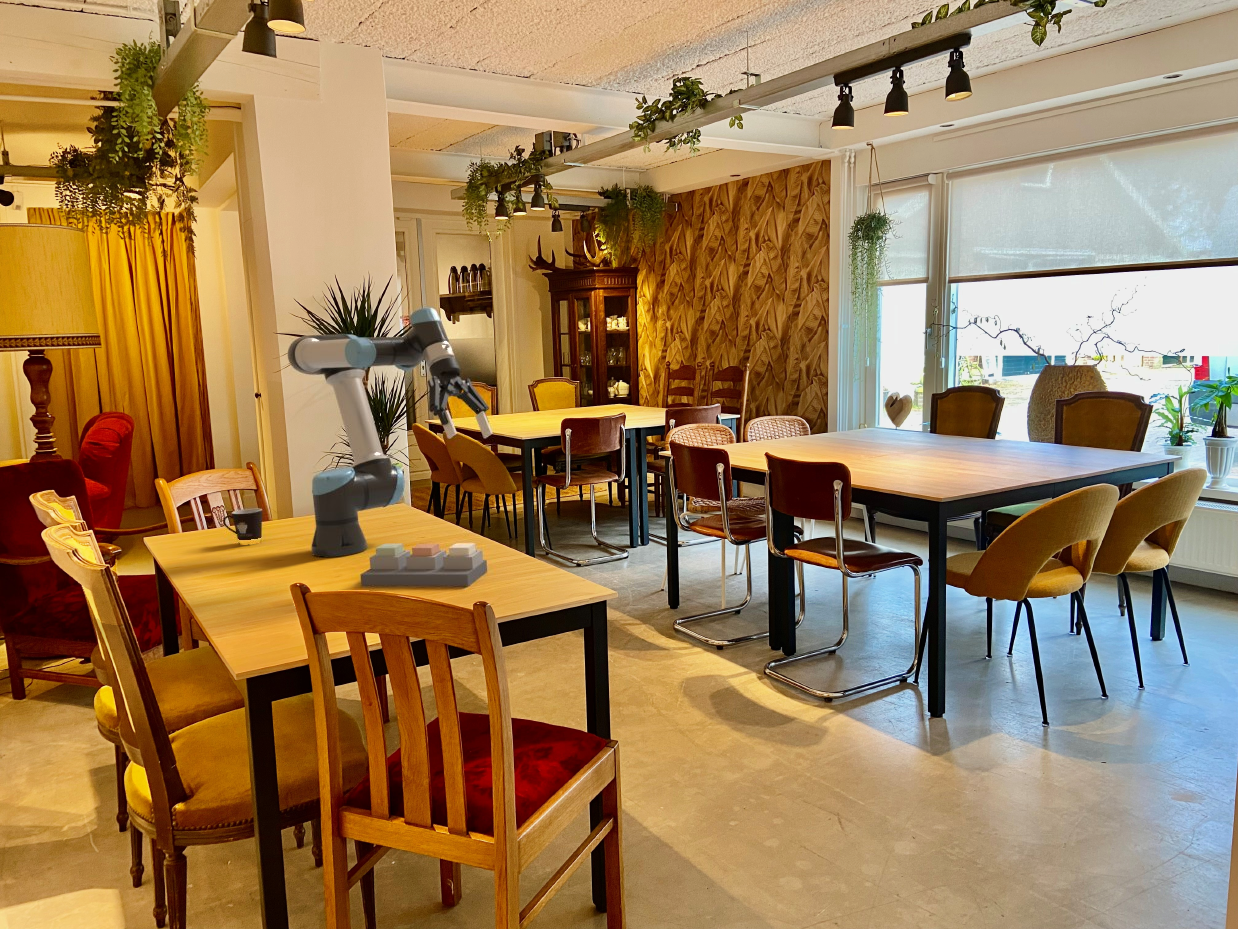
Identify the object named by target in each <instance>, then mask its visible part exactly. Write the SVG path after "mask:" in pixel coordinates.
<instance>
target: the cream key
mask: <svg viewBox="0 0 1238 929" xmlns="http://www.w3.org/2000/svg"><path fill="white" fill-rule="evenodd" d="M476 550H477V548H476V542H456V543H454V544H452V545H451V546H450V547H448V553H449V556H471V555H473V554H474V553H475V552H476Z"/></svg>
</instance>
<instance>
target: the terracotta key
mask: <svg viewBox="0 0 1238 929" xmlns="http://www.w3.org/2000/svg"><path fill="white" fill-rule="evenodd" d="M440 550H441V549H440V543H438V542H435V543H433V542H432V543H431V542H429V543H428V542H427V543H419V544H416V545H415V546H413V547H411V554H412V556H434V555H436V554H437V553H439V552H440Z"/></svg>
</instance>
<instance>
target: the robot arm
mask: <svg viewBox="0 0 1238 929" xmlns="http://www.w3.org/2000/svg"><path fill="white" fill-rule="evenodd" d="M409 322H410V326H411V329H409V332H407V333H406V334H405V335H404V336H385V337H383V336H382V337H381V336H377V337H364V336H362V337H359V336H357V335H354V334H345V333H339V334H309V335H303V336H300V337H298V338H296V339H294V340H293V341H292V342H291V343H290V345H289V347H288V350H287V360H288V362H289V364H290V366H291V367H292V368H293V369H295V370H296V371H297V372H299V373H301V374H304V375H310V376H311V375H312V376H315V375H316V376H317V375H319V376H320V375H323V376H324V378H325V382H326V384H327V385H329V386H331V387H332V388H333V391H334V395H335V398H336V401H337V405H338V409H339V413H340V416H341V420H342V422H343V426H344V429H345V434H346V438H347V440H348V441H347V442H348V444H349V448H350V451H351V454H352V458H353V464H352V465H351V466H350V467H349V466H348V467H347V466H346V467H345V466H344V467H339V468H332V469H331V468H330V469H327V470H324V471H321V472H319V473H317V474H315V475H314V476H313V478H312V480H311V481H312V482H311V494H312V499H313V509H314V519H315V530H314V534H313V538H312V542H311V555H312V554H314V555H316V556H315V557H319V556H324V557H323V558H330V557H331V558H332V557H344V556H349V555H354V554H355V555H356V554H358V553H361V552H364V551H366V550H367V549H368V544H367V539H366V537H365V534H364V532H363V530H362V527H361V525H360V523H359V514H358V513H359V512H362V511H368V510H373V509H379V508H385V507H388V506H391V505H392V506H393V505H396V504H397V503H398V502H400V500H401V499H402V498H403V495H404V492H405V475H404V472H403V470H402V469H401V468H400V467H399V466H398V465H395V464H392V462H391V461H392V460H391V457H389V456H388V455H386V454H384V452H383V449H382V446H381V442H380V439H379V434H378V431H377V427H376V424H375V421H374V417H373V413H372V410H371V406H370V403H369V400H368V397H367V393H366V389H365V386H364V383H363V379H364V377H365V375H366V370H367V368H368V367H369V368H370V367H371V368H372V367H384V366H388V367H389V366H390V367H392V366H395V368H397V369H398V370H402V371H404V372H409V371H412V370H414V369H415V368H416V367H418V366H419V365H420V364H421V363H422V361H423V360H424V361H425V363H426V365H427V367H428V369H429V373H430V375H431V378H430V379H428V380H427V384H428V388H429V389H428V390H429V392H428V393H429V394H428V395H429V397H428V399H429V401H428V410H429V412H430V413H432V414H433V416H434V417H438V419H439V421H440V424H441V425H442V427H443V429H444V432H445V434H446V438H447V439H452V438H453V437H454V436H456V435H457V434H458V432H457V430H456V427H455V425H454V422H453V419H452V417H451V414H450V412H449V409H447V410H446V407H447V405H448V400H449V397H454V398H455V397H456V398H457V399H459V400H462V402H463V403H464V404H465V405H467V407H468V408H470V410H471V411H473V412H474V414H476V415H475V419H476V422H477V424H478V427H479V430H480V432H481V434H482V437H483V439H487V438H488V437H489V436H491V435H493V430H492V428H491V426H490V422H489V418H488V417H487V414H486V412H487V411H489V410H490V406H488V404H487V402H486V401H485V400H484V399H483V397H482V396H481V395H480V393H479V392H478V391H477V389H476V388H475V387H474V386H473V383H472V382H471V380H470V378H466V379H465V380H462V378H461V377H460V376H461V375H460V374H461V368H460V366H459V363H458V360H457V359H456V357H455V356H456V355H455V354H454V351H453V348H452V346H451V344H450V340H449V338H448V336H447V333H446V331H445V327H444V325H443V323H442V322H443V320H442V319H441V317H440V315H439V314H438V312H437V310H436V309H435V308H432V307H430V306H429V307H420V308H418V309H415V310H414V311H413V312H412V313H411V314H410V316H409ZM314 555H313V556H314Z"/></svg>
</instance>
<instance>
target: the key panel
mask: <svg viewBox="0 0 1238 929" xmlns="http://www.w3.org/2000/svg"><path fill="white" fill-rule="evenodd" d="M439 550H440V552H439V553H437V554H436V555H434V556H412V553H411V550H410V549H409V550H408V549H406V550H405V549H404V552H403V553H401V554H400V555H398V556H392V557H376V553H375V554H373V555H371V556H369V565H370V568H369V569H368V570H366V571H364V572H362V573H360V575H359V576H360V585H361V587H384V588H385V587H386V588H387V587H391V588H394V587H397V588H398V587H401V588H403V587H411V588H412V587H413V588H415V587H416V588H417V587H418V588H419V587H420V588H421V587H423V588H424V587H425V588H428V587H429V588H430V587H432V588H434V587H435V588H436V587H437V588H438V587H441V588H443V587H444V588H445V587H448V588H449V587H451V588H452V587H453V588H454V587H455V588H456V587H457V588H458V587H459V588H461V587H462V588H468V587H470V586H471V585H473V584H474V583H475V582H477V581H478V580H479V579H480V578H481V577H483V576H484V575H485V574H486V573H488V563H487V559H484V557H483V556H484V555H483V554H484V553H483V549H476V552H475V553H474V554H473V555H471V556H449V552H448V553H447V550H446V549H439Z"/></svg>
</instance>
